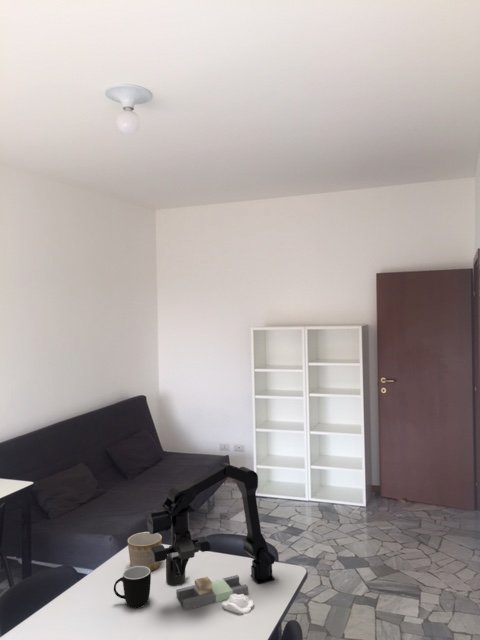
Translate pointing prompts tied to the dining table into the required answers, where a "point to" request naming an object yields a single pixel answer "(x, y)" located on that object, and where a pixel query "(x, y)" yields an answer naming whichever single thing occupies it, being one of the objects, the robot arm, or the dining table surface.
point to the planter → (143, 549)
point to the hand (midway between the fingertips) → (181, 574)
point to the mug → (135, 586)
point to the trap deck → (211, 593)
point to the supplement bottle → (173, 572)
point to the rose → (238, 604)
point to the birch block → (203, 585)
